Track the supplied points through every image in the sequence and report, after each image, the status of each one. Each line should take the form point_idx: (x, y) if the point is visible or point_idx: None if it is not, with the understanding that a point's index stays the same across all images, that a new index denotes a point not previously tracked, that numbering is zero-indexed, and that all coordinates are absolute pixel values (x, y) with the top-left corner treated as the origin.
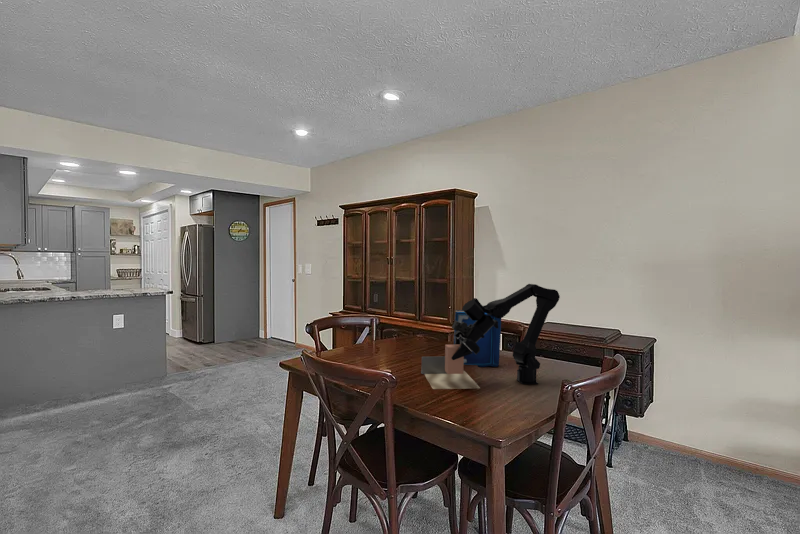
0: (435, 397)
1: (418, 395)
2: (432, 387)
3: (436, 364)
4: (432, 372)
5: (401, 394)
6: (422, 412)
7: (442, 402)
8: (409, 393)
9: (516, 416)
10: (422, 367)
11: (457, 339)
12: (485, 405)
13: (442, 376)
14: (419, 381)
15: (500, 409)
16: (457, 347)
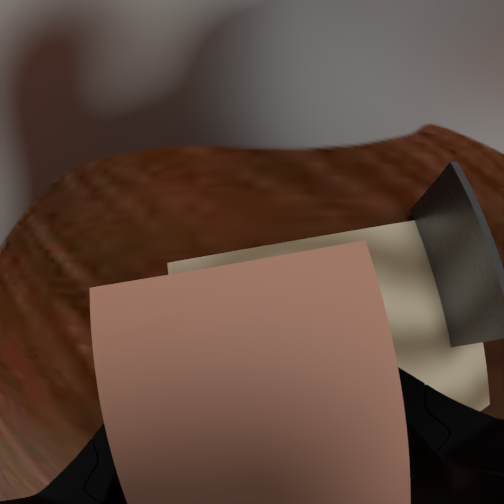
0: (101, 277)
1: (126, 211)
2: (191, 261)
3: (461, 261)
4: (431, 256)
5: (143, 156)
6: (7, 236)
7: (55, 301)
8: (151, 178)
9: (6, 484)
10: (424, 196)
11: (496, 501)
12: (47, 449)
13: (399, 311)
14: (327, 205)
15: (31, 475)
16: (121, 477)
